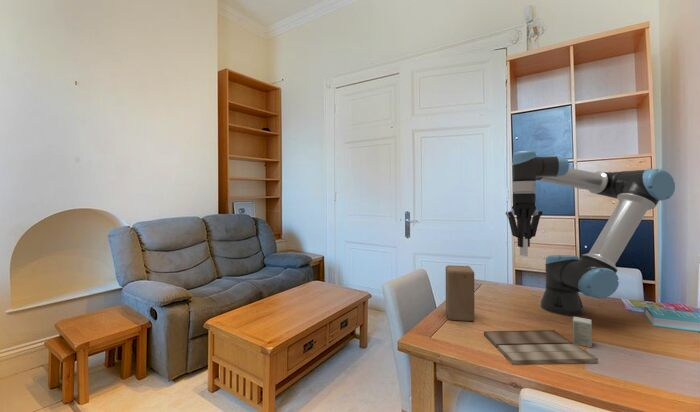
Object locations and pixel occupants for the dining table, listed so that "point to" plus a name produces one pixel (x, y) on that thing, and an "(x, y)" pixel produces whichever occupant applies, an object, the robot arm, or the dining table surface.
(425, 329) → the dining table surface
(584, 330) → the small box
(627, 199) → the robot arm
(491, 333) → the plank
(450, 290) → the wooden block
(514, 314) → the dining table surface
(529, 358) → the laid board
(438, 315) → the dining table surface
